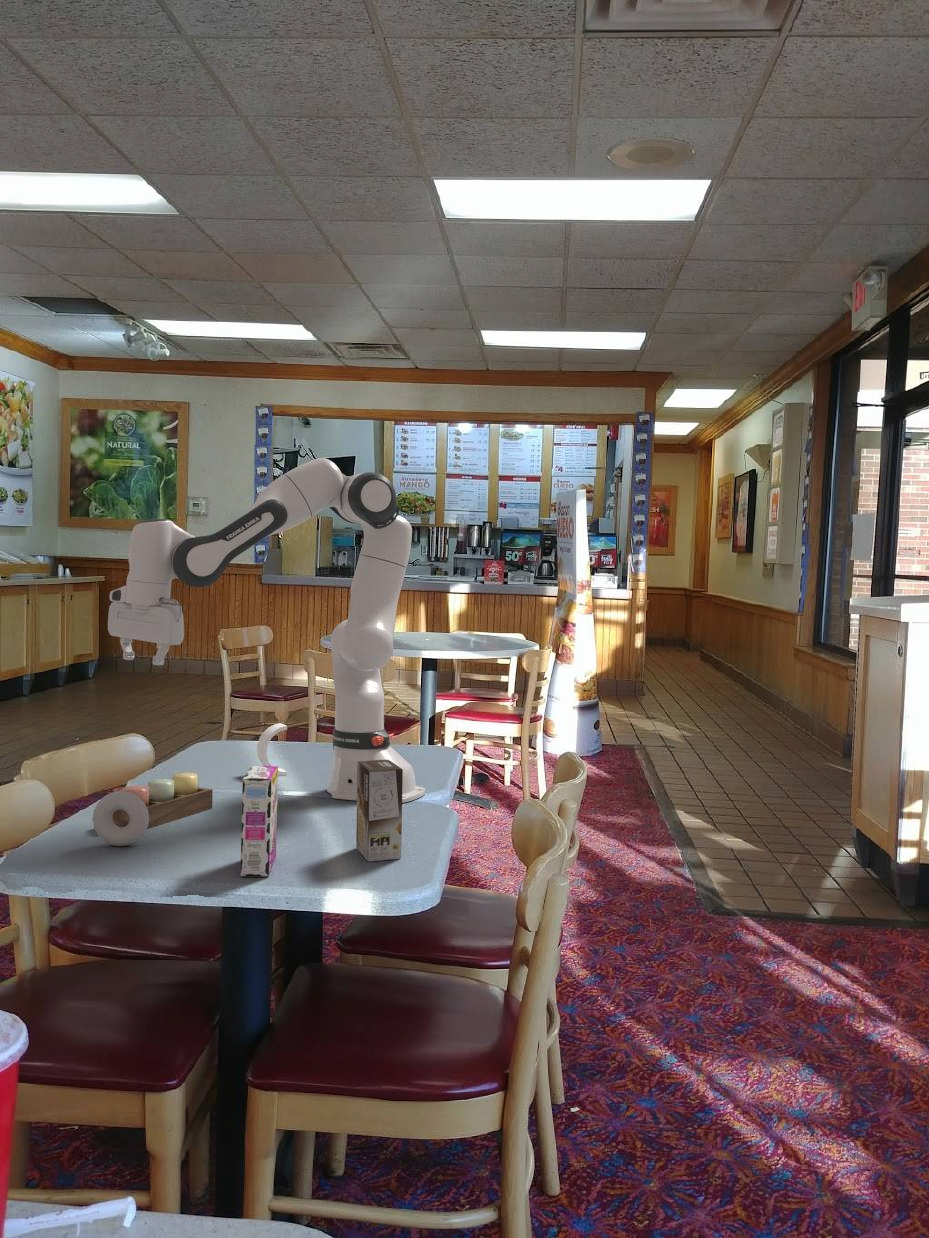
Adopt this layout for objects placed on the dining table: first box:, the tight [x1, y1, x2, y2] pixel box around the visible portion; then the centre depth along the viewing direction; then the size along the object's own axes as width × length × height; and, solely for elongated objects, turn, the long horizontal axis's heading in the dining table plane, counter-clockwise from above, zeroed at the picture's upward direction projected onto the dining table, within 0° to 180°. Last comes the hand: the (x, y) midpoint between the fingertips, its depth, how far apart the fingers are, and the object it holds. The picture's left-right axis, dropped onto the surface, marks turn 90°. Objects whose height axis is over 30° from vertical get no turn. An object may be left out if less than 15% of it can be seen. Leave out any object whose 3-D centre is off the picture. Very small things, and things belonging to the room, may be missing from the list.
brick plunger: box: [121, 785, 149, 807], centre depth 187 cm, size 5×5×4 cm
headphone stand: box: [256, 723, 288, 777], centre depth 234 cm, size 5×6×12 cm
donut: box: [92, 790, 149, 847], centre depth 173 cm, size 10×4×10 cm, turn 90°
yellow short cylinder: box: [171, 772, 199, 795], centre depth 199 cm, size 5×5×4 cm
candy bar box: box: [239, 765, 279, 878], centre depth 163 cm, size 11×5×16 cm, turn 5°
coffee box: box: [355, 760, 403, 862], centre depth 172 cm, size 9×6×16 cm
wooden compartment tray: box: [112, 786, 213, 830], centre depth 193 cm, size 8×21×4 cm, turn 153°
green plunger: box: [147, 778, 174, 802], centre depth 193 cm, size 5×5×4 cm
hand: (143, 662), depth 200 cm, fingers open, 8 cm apart
